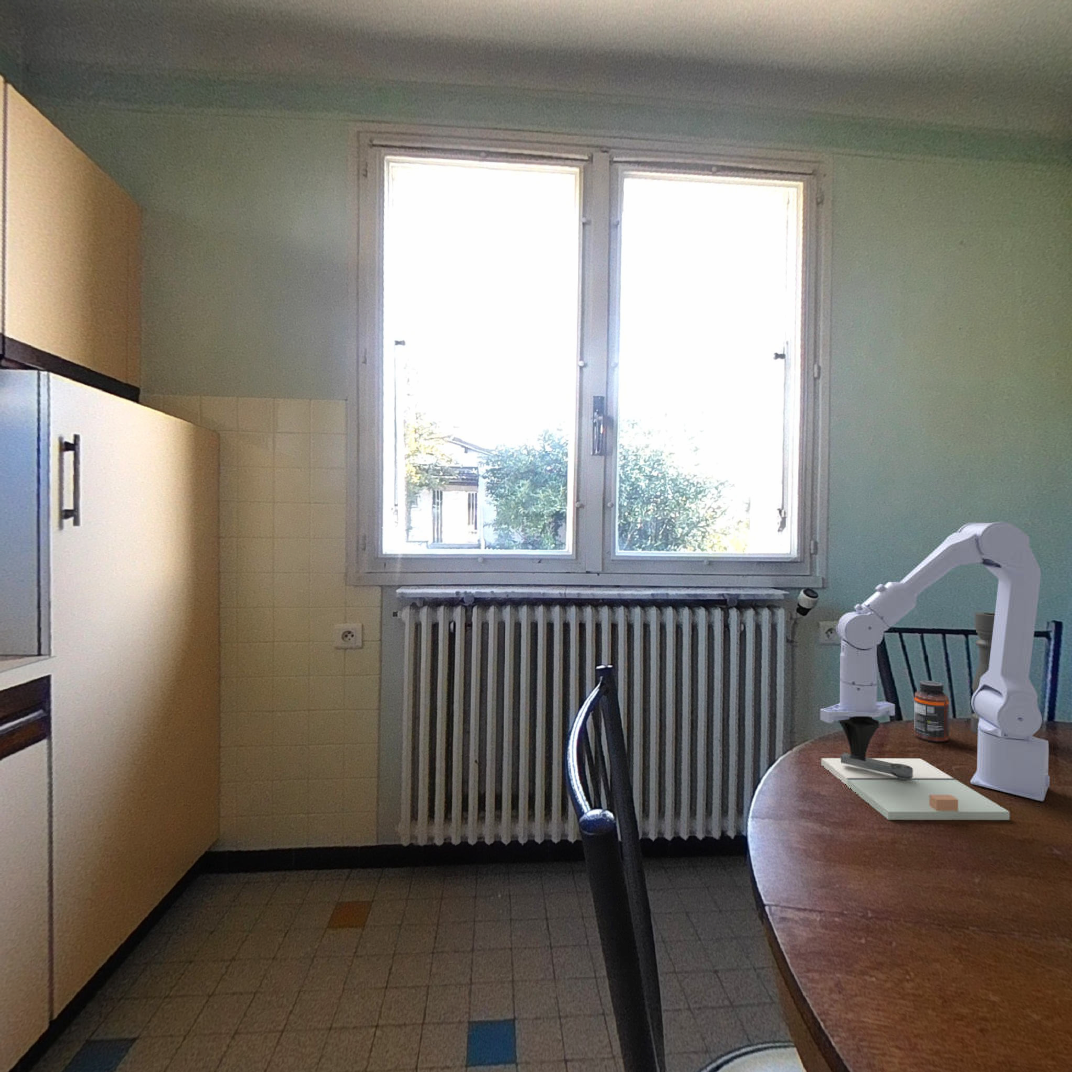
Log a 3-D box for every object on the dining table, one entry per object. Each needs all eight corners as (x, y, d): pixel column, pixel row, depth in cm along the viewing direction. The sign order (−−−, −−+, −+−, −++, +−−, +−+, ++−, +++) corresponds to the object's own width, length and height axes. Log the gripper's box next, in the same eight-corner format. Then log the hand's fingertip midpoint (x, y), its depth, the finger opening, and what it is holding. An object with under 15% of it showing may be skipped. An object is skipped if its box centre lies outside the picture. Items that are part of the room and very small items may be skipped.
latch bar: (914, 773, 102) (914, 766, 102) (911, 780, 99) (911, 772, 99) (844, 758, 108) (844, 751, 108) (839, 763, 106) (840, 756, 106)
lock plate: (920, 765, 111) (920, 749, 110) (1009, 819, 90) (1009, 801, 90) (821, 764, 110) (821, 749, 110) (888, 819, 90) (888, 800, 90)
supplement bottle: (938, 733, 128) (939, 679, 127) (955, 743, 122) (956, 687, 122) (908, 732, 128) (909, 678, 128) (923, 742, 122) (924, 686, 122)
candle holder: (1000, 730, 130) (1003, 613, 129) (1012, 739, 124) (1015, 617, 124) (966, 726, 132) (969, 611, 132) (976, 736, 126) (979, 615, 126)
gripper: (843, 691, 101) (842, 772, 101) (910, 683, 105) (909, 762, 106) (811, 680, 108) (811, 757, 108) (876, 674, 112) (875, 748, 112)
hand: (857, 758), depth 107 cm, fingers closed, pressing on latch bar
